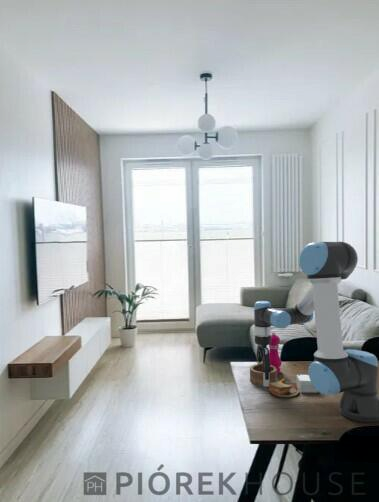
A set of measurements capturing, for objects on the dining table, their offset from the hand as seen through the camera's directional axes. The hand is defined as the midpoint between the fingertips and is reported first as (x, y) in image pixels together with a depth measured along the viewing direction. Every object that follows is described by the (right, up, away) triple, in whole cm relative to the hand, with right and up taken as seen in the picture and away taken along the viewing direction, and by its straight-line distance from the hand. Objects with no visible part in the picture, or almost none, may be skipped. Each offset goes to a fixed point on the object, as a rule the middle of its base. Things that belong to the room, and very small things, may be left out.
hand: (263, 380), depth 172 cm
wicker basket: (0, 0, 0) cm, 0 cm away
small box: (+17, -1, -10) cm, 20 cm away
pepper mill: (+8, 0, +12) cm, 14 cm away
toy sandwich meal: (+6, -1, -13) cm, 15 cm away
